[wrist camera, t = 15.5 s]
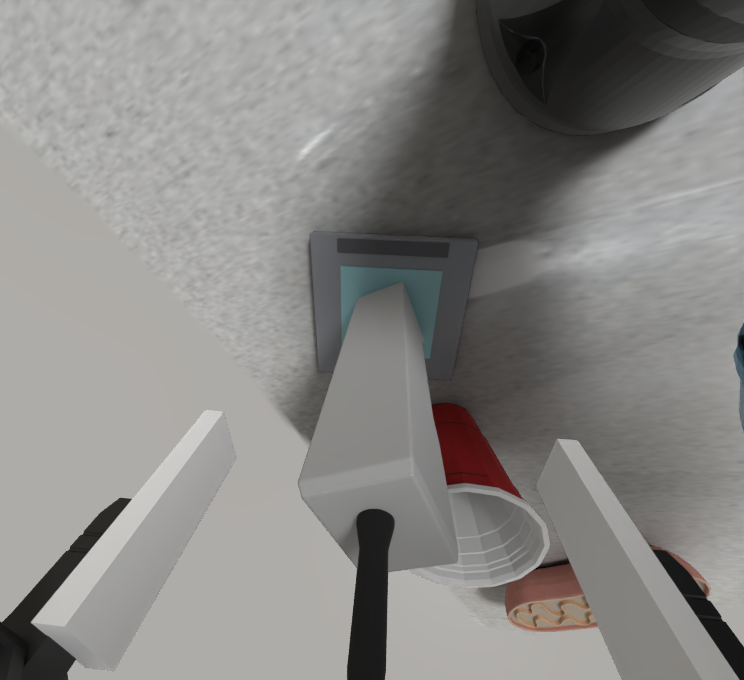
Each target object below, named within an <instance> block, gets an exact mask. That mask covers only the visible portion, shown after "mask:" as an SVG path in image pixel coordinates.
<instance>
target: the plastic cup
mask: <svg viewBox="0 0 744 680" xmlns="http://www.w3.org/2000/svg"><path fill="white" fill-rule="evenodd" d="M432 412H433V419H434V423H435V427H436V431H437V436H438V440H439V444H440V450H441V455H442V461H443V467H444V472H445V478H446V483H447V489H448V495H449V500H450V506H451V512H452V517H453V523H454V528H455V534H456V540H457V545H458V562H457V563H456V564H448V565H440V566H432V567H424V568H416V569H409V570H410V571H411V572H412V573H414V574H416V575H419V576H421V577H423V578H425V579H428V580H430V581H432V582H435V583H437V584H442V585H448V586H454V587H460V588H481V587H495V586H498V585H502V584H505V583H508V582H512V581H515V580H518V579H521V578H522V577H524V576H525V575H526V574H528V573H529V572H531V571H532V570H534V569H535V568H536V567H538V566H539V565H540V564H541V562H542V561H543V559H544V557H545V555H546V553H547V551H548V549H549V547H550V542H549V535H548V528H547V525H546V523H545V522H544V521H543V519H542V518H541V517H540V516H539V515H538V514H537V513H536V512H535V510H534V509H533V508H532V507H531V506H530V505H529V504H528V503H527V501H525V500H524V499H523V498H522V497H521V495H520V494H519V492H518V490H517V489H516V488H515V487H514V485H513V484H512V482H511V481H510V479H509V477H508V476H507V474H506V472H505V470H504V469H503V467H502V465H501V464H500V462H499V460H498V458H497V457H496V455H495V453H494V451H493V450H492V448H491V446H490V445H489V443H488V441H487V439H486V438H485V437H484V436H483V435H482V433H481V431H480V429H479V428H478V426H477V424H476V422H475V420H474V419H473V418H472V417H471V415H470V414H469V413H468V412H467V411H466V410H465V409H464V408H462V407H460V406H458V405H455V404H448V403H441V404H436V405H432Z"/></svg>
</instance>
